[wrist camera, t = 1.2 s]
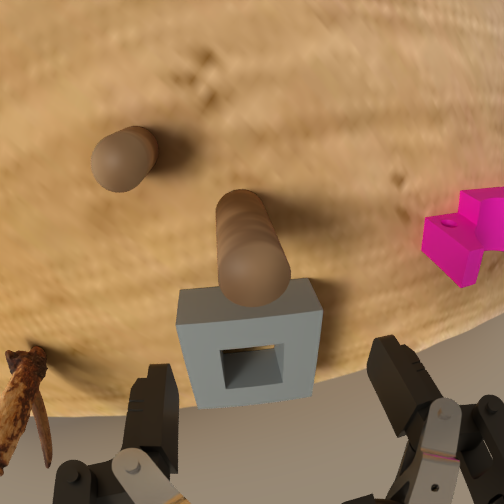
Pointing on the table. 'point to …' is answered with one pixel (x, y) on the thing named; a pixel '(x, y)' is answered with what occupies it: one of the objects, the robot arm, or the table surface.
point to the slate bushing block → (249, 335)
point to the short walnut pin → (124, 158)
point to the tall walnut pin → (249, 251)
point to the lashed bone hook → (23, 403)
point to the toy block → (466, 234)
